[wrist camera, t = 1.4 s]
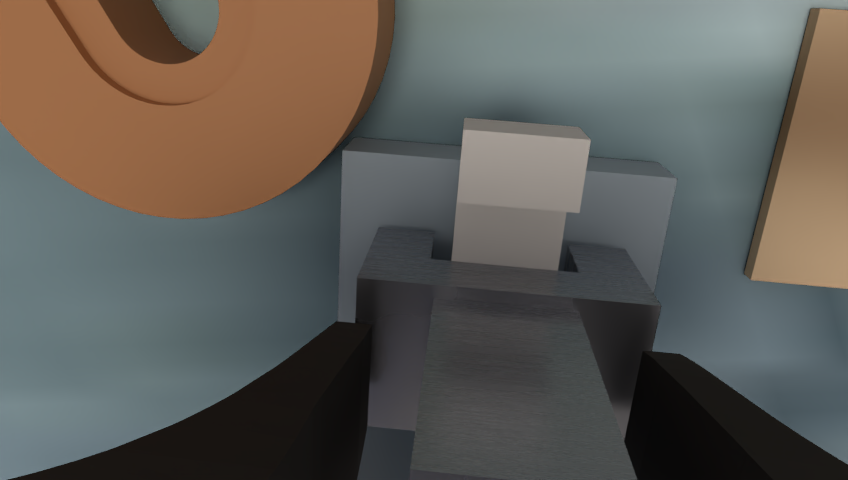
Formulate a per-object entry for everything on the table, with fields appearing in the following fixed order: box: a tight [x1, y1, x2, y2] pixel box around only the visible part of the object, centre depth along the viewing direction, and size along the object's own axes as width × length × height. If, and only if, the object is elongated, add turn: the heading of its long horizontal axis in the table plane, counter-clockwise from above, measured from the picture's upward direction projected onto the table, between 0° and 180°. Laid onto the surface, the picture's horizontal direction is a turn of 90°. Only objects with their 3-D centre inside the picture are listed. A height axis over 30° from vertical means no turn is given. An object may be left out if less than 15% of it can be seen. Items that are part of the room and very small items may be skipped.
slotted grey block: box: [355, 227, 661, 480], centre depth 11 cm, size 3×5×7 cm, turn 86°
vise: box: [338, 118, 677, 480], centre depth 14 cm, size 10×11×5 cm
